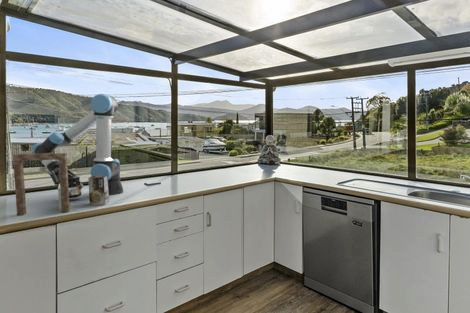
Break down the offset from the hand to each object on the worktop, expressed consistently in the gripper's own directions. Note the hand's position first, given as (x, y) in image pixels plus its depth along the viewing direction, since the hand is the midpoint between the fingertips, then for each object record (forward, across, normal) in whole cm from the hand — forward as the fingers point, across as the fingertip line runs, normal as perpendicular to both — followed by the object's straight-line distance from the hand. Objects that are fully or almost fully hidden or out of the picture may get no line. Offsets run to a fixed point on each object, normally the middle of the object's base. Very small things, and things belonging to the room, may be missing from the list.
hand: (75, 189), depth 185 cm
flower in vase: (-7, -16, -16) cm, 24 cm away
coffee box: (+19, +5, +9) cm, 21 cm away
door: (+8, +18, 0) cm, 20 cm away
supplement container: (+1, 0, -5) cm, 5 cm away
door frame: (+7, +28, -2) cm, 29 cm away
